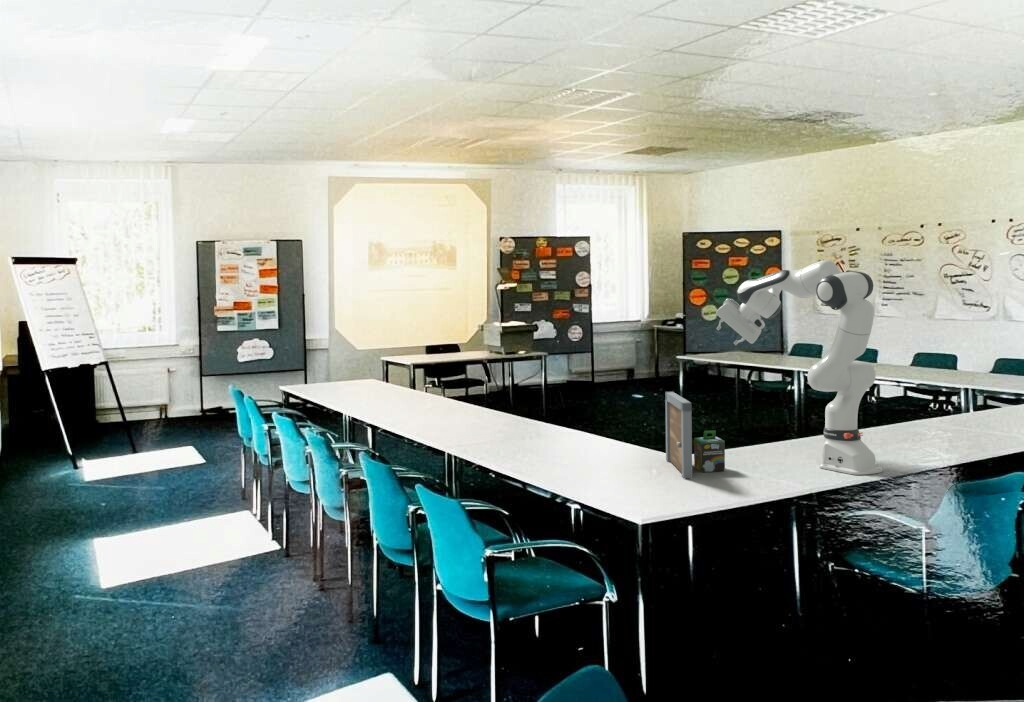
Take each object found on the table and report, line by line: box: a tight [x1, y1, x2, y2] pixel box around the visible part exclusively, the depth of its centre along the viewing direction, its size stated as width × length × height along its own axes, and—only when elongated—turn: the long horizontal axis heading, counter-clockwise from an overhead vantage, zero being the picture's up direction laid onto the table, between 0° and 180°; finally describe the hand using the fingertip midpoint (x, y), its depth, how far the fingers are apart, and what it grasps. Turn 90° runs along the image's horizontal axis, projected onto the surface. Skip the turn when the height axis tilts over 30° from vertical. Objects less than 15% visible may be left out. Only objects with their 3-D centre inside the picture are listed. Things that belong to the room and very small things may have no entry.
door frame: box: [664, 391, 693, 479], centre depth 304 cm, size 3×32×27 cm, turn 0°
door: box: [670, 403, 682, 474], centre depth 304 cm, size 3×24×23 cm, turn 0°
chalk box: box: [693, 429, 726, 473], centre depth 302 cm, size 9×9×15 cm
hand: (726, 336), depth 344 cm, fingers open, 8 cm apart
